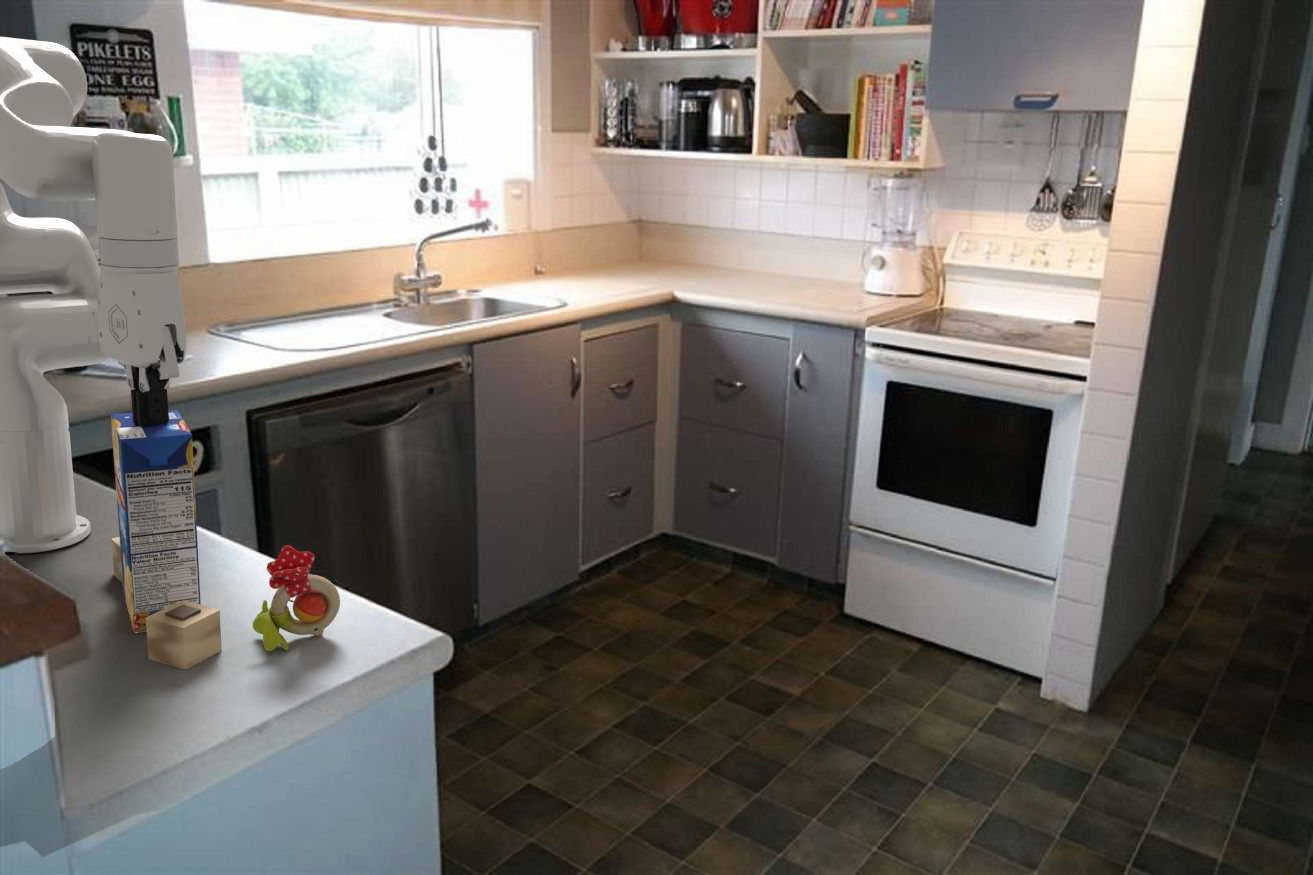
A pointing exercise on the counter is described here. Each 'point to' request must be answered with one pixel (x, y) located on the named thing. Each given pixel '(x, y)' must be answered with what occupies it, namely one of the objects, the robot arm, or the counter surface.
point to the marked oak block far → (117, 558)
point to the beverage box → (155, 515)
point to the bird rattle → (296, 600)
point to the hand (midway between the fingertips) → (151, 424)
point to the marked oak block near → (183, 634)
